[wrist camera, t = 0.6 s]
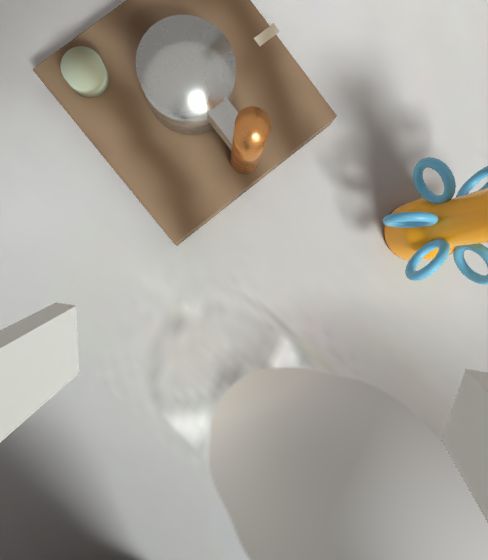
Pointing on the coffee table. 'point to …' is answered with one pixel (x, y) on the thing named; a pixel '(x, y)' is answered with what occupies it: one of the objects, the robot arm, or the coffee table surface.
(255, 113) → the knob
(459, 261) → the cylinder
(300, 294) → the coffee table surface
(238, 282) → the coffee table surface
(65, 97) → the base
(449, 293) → the coffee table surface
